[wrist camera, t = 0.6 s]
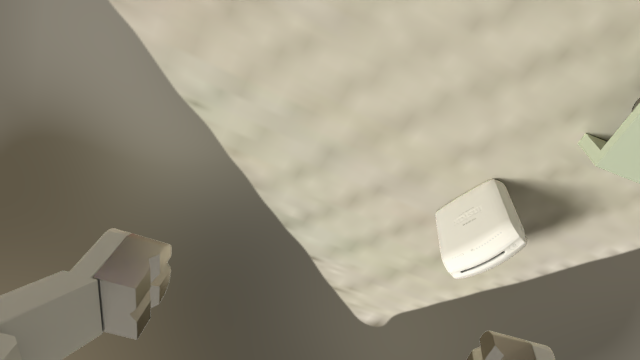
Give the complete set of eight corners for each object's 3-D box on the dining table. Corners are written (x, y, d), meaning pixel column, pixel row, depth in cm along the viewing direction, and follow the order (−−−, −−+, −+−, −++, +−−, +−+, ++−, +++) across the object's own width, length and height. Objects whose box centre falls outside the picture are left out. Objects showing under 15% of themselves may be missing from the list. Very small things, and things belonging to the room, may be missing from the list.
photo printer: (495, 172, 57) (517, 230, 46) (513, 194, 58) (539, 255, 48) (429, 211, 62) (436, 271, 51) (447, 230, 63) (457, 293, 52)
